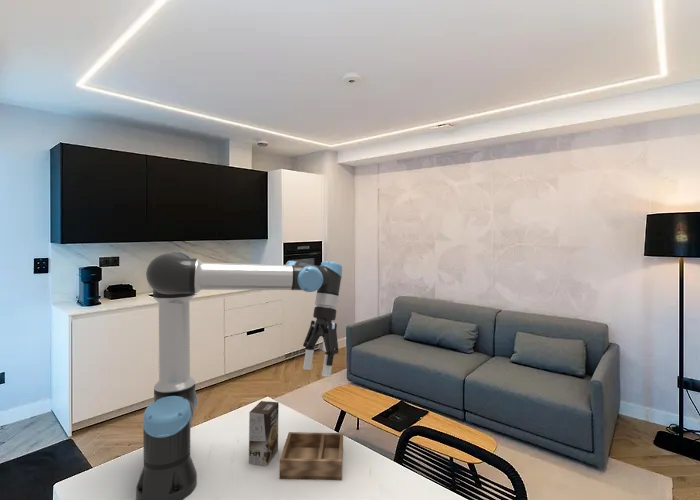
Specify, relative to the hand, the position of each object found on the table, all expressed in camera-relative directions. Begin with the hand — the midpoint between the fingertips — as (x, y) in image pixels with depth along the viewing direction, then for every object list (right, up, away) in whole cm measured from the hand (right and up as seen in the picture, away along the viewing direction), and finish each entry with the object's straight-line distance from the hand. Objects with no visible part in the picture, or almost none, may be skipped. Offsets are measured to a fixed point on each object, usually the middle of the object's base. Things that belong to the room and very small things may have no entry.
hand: (316, 372), depth 124 cm
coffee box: (-16, -26, -3) cm, 31 cm away
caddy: (0, -26, -6) cm, 27 cm away
